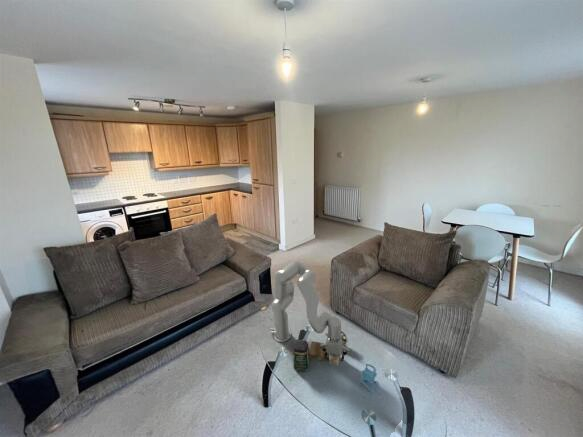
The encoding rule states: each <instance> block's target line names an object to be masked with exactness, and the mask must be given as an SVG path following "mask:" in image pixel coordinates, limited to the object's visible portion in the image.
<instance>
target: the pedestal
mask: <svg viewBox="0 0 583 437" xmlns="http://www.w3.org/2000/svg"><path fill="white" fill-rule="evenodd" d="M321 344H326V342H325V343H323V342H319V341H313V340H311V342H310V346H309V349H308V359H314V360H317V361H321V362H322V361H323V362H325V359H326V356H325V353H324V351H323V350H322V348H321ZM324 348H326V347H324Z"/></svg>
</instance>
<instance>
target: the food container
mask: <svg viewBox="0 0 583 437" xmlns="http://www.w3.org/2000/svg"><path fill="white" fill-rule="evenodd" d="M341 338H342V342H343V346H344V347H346V346H347V343H348V336H347V334H346V332H344V331H343V330H341ZM346 348H347V347H346ZM343 351H345V350H343Z"/></svg>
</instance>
